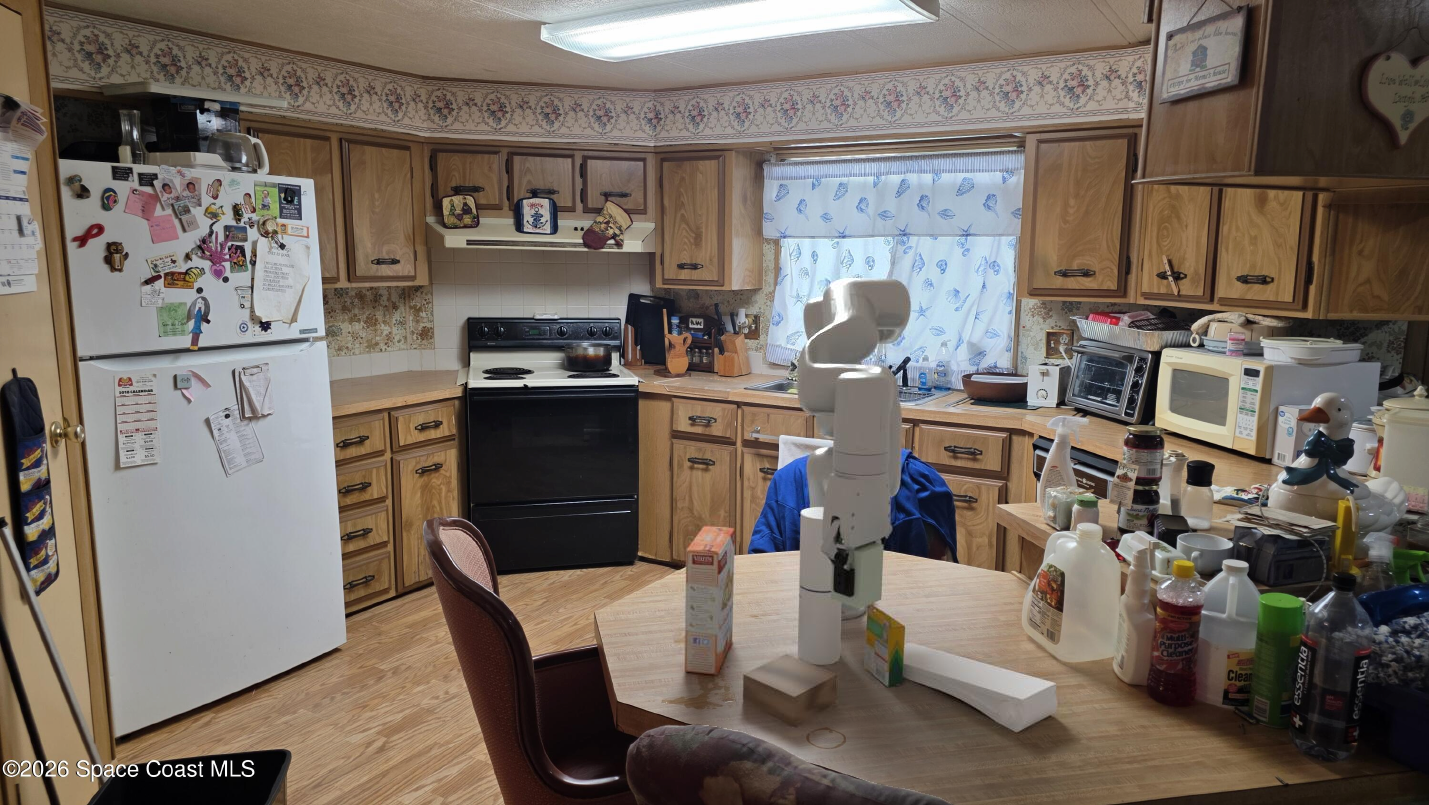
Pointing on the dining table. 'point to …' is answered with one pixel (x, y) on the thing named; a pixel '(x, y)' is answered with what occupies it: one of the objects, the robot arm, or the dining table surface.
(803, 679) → the walnut block
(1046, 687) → the white arched block
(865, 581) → the sage block
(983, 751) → the dining table surface
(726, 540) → the cracker box
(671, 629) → the dining table surface
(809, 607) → the cylindrical container
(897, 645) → the crayon box
